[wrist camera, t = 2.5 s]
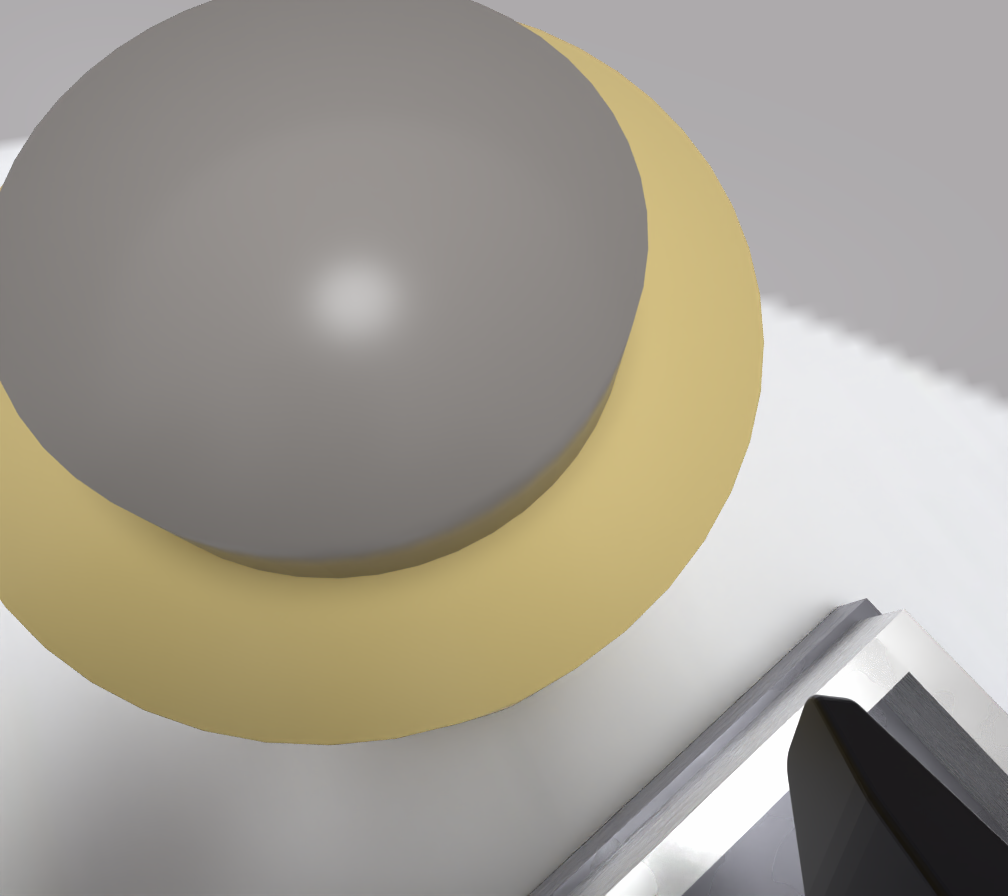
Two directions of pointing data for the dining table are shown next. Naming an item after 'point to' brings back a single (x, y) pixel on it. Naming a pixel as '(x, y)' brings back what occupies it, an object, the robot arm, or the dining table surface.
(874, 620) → the motor mount
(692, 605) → the dining table surface
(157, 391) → the bottle
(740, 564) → the dining table surface
